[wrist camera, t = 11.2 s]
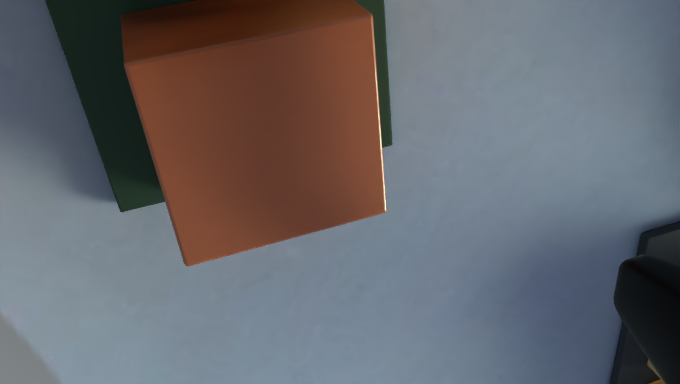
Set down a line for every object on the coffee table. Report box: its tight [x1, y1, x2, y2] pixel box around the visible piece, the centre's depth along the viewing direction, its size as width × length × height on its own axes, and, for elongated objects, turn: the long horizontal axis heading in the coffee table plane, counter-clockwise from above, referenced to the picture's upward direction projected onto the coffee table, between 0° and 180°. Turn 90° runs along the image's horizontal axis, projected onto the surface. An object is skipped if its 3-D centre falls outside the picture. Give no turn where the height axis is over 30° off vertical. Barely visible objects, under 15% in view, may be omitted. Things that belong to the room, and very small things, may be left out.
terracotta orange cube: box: [120, 0, 386, 266], centre depth 15 cm, size 5×5×4 cm
